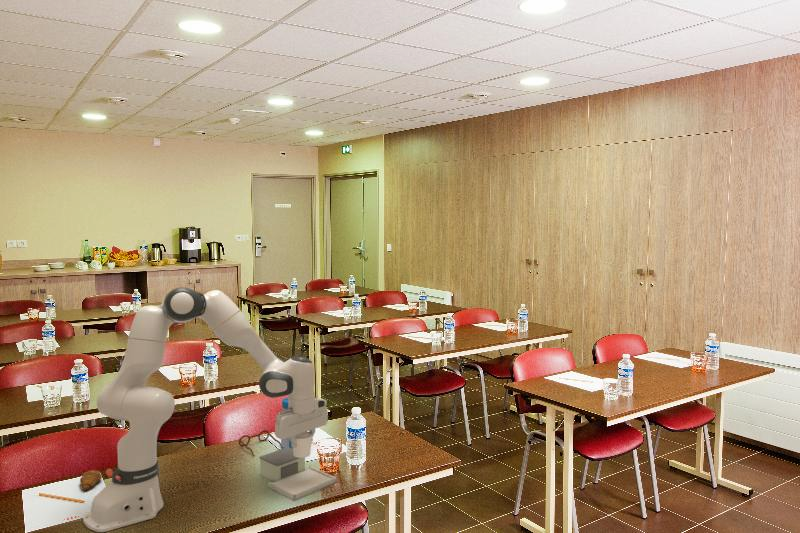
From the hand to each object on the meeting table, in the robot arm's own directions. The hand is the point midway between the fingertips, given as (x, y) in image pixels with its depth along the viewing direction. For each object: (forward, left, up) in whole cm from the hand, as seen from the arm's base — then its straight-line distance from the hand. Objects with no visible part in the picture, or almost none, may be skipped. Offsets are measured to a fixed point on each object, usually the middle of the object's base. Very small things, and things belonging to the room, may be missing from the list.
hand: (302, 444), depth 202 cm
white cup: (0, 0, -4) cm, 4 cm away
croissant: (-48, +54, -15) cm, 74 cm away
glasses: (+10, +38, -15) cm, 42 cm away
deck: (0, +5, -14) cm, 15 cm away
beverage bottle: (+17, +28, -14) cm, 36 cm away
